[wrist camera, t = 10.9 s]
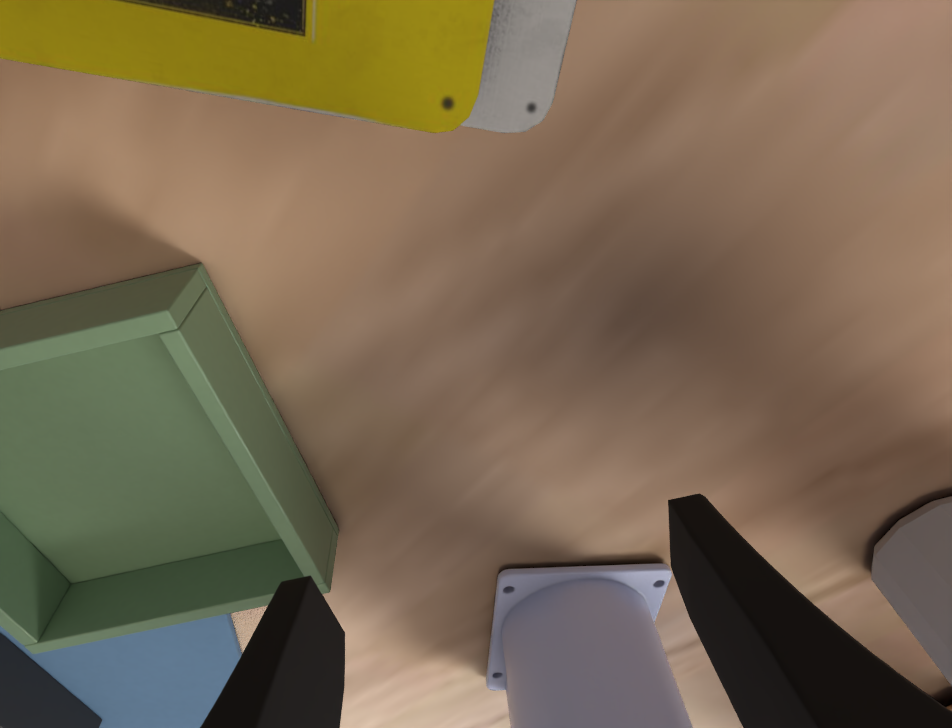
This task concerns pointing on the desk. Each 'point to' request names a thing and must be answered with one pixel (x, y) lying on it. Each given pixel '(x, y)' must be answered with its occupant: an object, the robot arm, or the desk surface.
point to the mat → (148, 673)
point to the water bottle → (921, 577)
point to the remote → (36, 695)
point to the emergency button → (316, 53)
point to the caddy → (143, 467)
